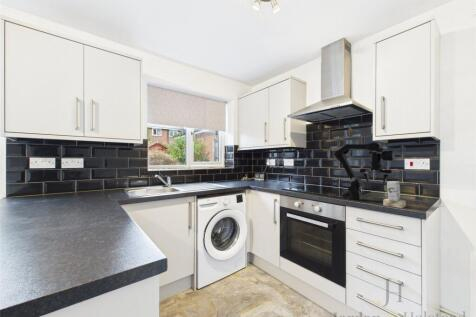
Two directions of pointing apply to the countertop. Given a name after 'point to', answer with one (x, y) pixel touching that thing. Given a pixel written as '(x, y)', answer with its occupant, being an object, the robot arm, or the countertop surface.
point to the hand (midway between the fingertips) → (376, 183)
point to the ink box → (393, 190)
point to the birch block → (394, 203)
